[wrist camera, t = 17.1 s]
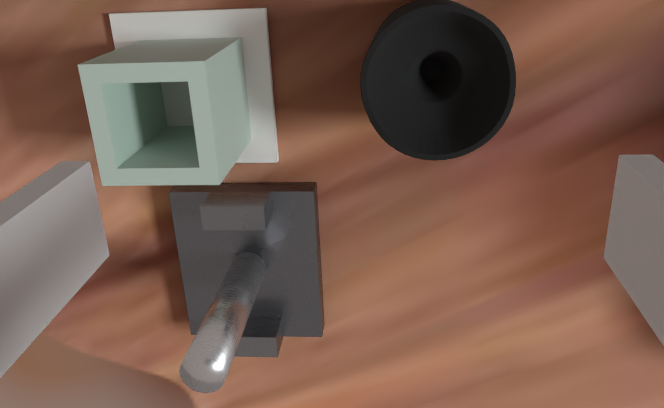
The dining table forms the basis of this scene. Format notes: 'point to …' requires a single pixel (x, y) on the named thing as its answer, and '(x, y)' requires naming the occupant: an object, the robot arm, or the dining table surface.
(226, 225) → the block with threaded rod
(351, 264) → the dining table surface
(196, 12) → the mat
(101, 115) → the sleeve
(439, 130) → the pen holder
